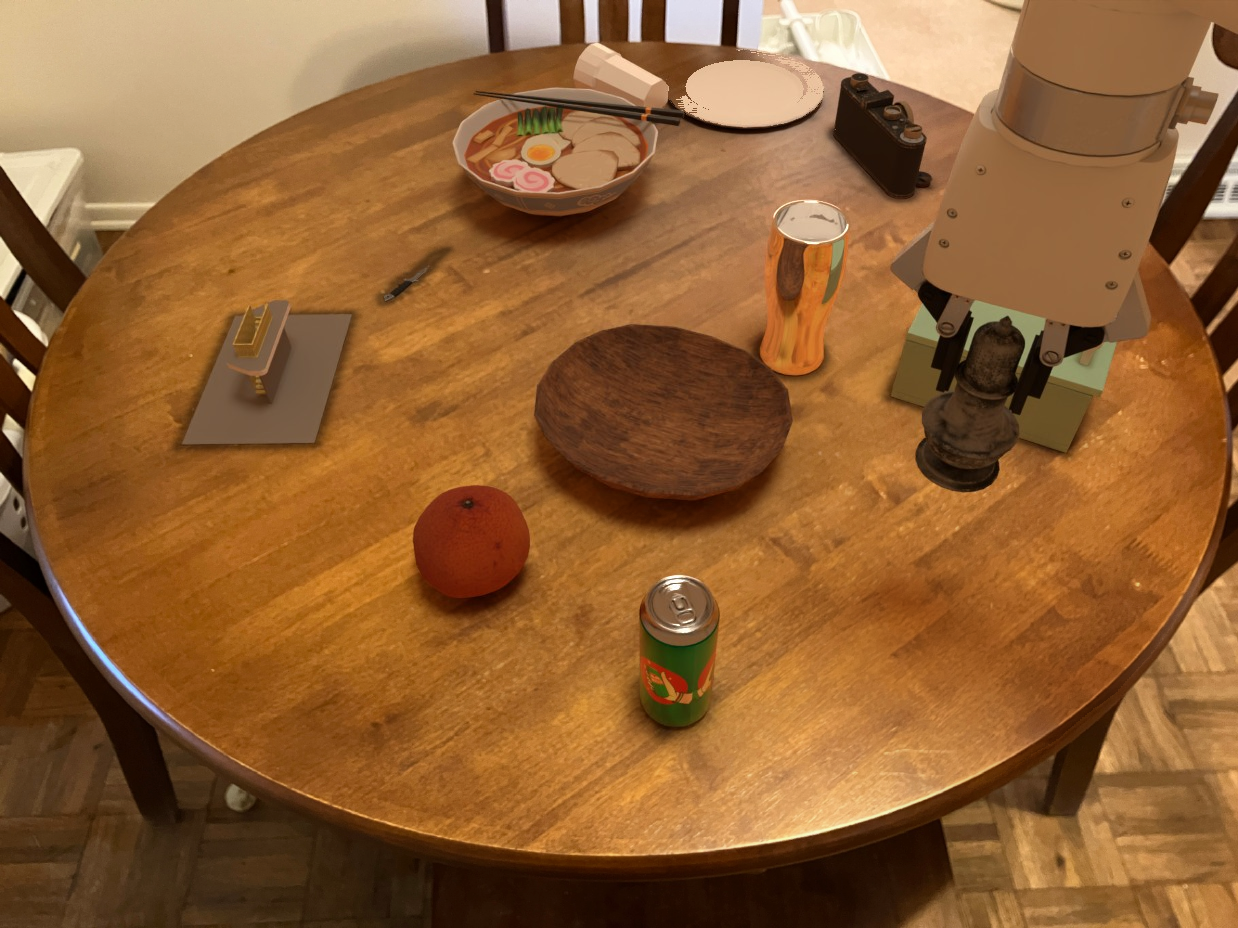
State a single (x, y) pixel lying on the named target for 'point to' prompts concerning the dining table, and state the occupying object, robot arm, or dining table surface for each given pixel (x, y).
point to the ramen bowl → (558, 148)
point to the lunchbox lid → (1028, 346)
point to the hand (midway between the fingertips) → (983, 386)
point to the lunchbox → (1039, 419)
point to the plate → (750, 93)
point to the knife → (404, 285)
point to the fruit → (471, 541)
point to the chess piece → (974, 413)
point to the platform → (270, 378)
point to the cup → (618, 77)
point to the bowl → (663, 411)
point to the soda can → (677, 650)
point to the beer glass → (802, 282)
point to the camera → (881, 136)
